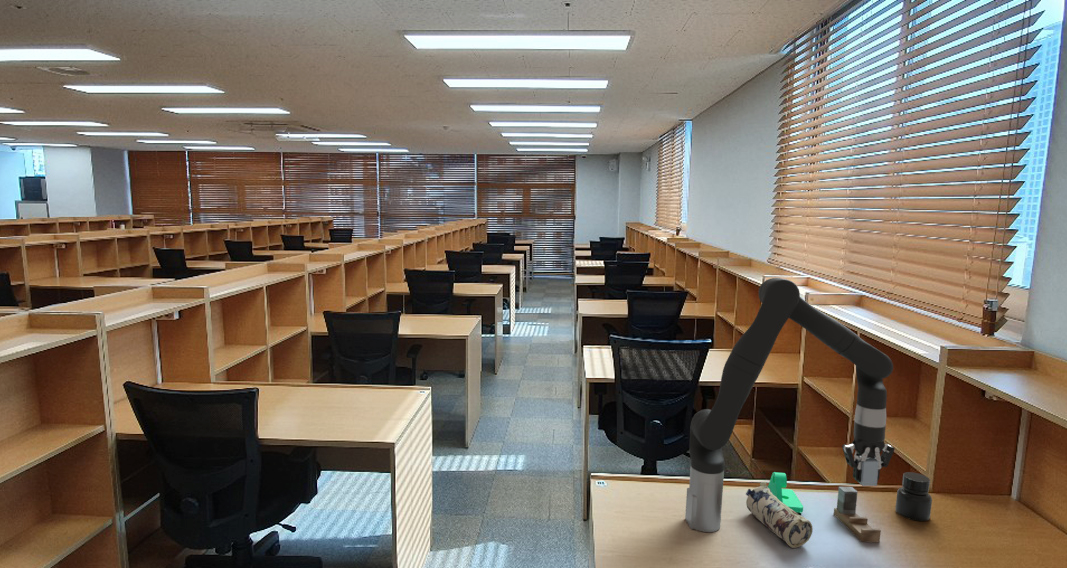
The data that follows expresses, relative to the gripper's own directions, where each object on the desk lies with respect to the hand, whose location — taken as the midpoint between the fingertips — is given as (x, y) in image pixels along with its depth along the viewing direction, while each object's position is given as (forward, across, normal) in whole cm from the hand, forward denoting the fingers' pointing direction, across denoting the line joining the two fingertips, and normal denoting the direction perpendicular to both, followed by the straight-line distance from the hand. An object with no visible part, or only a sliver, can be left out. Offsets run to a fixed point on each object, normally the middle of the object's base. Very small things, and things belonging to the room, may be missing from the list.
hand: (865, 480), depth 167 cm
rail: (+16, 0, +4) cm, 17 cm away
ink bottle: (+17, +22, +12) cm, 31 cm away
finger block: (+1, 0, 0) cm, 1 cm away
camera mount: (+16, -14, +17) cm, 28 cm away
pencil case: (+16, -23, +2) cm, 28 cm away
